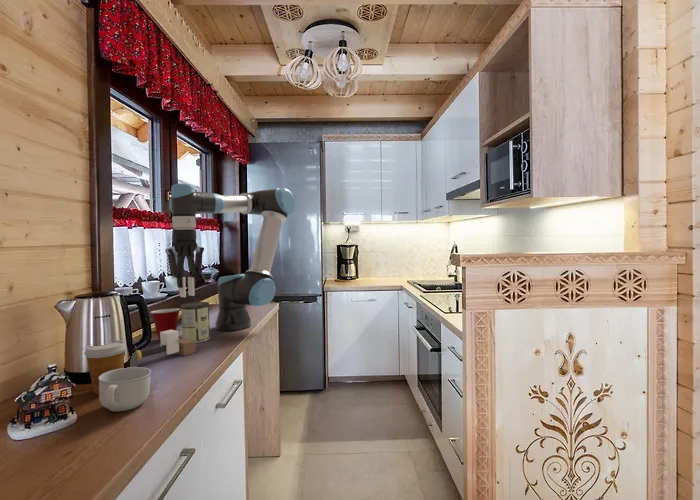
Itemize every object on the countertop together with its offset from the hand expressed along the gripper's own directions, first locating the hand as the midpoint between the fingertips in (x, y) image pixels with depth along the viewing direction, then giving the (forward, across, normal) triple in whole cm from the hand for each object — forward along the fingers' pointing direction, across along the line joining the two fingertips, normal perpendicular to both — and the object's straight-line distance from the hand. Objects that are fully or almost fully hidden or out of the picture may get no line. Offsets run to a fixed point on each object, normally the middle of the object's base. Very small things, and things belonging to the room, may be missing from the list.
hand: (187, 296), depth 133 cm
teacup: (+20, -34, -29) cm, 49 cm away
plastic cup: (+20, +4, +23) cm, 31 cm away
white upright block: (+18, -7, 0) cm, 19 cm away
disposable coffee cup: (+20, -31, -13) cm, 39 cm away
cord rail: (+20, -11, 0) cm, 22 cm away
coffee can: (+20, +10, +12) cm, 25 cm away
